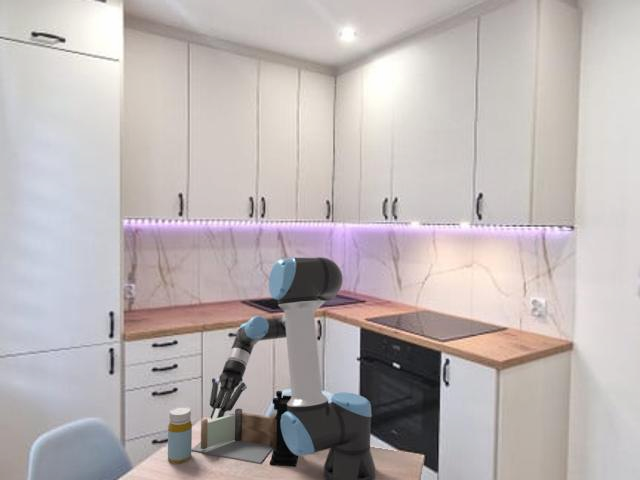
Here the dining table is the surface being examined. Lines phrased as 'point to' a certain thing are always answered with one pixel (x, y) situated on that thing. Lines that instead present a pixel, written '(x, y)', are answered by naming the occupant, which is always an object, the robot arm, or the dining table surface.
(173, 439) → the bottle
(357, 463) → the robot arm
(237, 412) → the walnut fence section
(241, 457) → the board
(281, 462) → the chess piece
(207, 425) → the fence panel
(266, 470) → the dining table surface
